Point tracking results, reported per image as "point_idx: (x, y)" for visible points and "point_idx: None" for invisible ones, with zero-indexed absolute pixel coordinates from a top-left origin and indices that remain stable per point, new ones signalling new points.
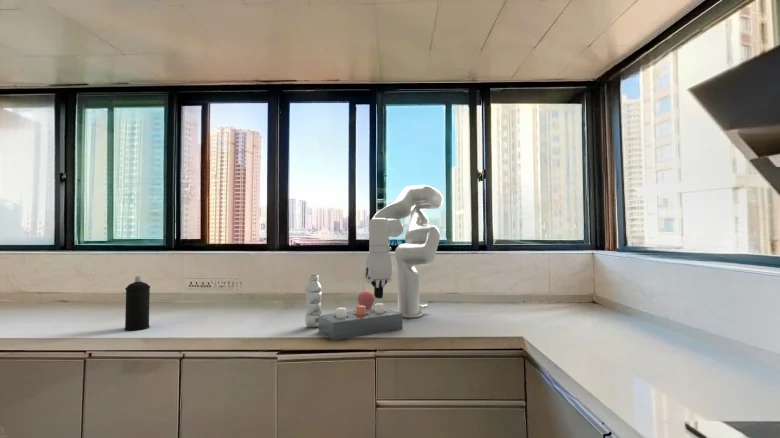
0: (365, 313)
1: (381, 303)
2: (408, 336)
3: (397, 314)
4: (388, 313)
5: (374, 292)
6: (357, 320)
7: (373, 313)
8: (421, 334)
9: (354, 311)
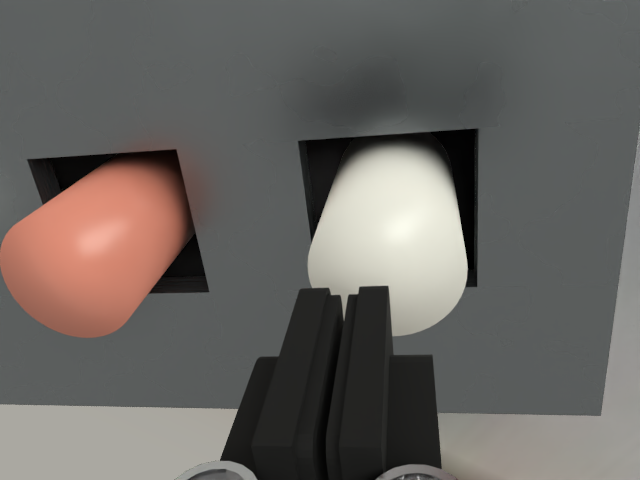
0: (167, 267)
1: (448, 234)
2: (470, 467)
3: (525, 410)
4: (452, 339)
5: (247, 399)
6: (56, 398)
7: (281, 256)
8: (590, 475)
9: (67, 8)
